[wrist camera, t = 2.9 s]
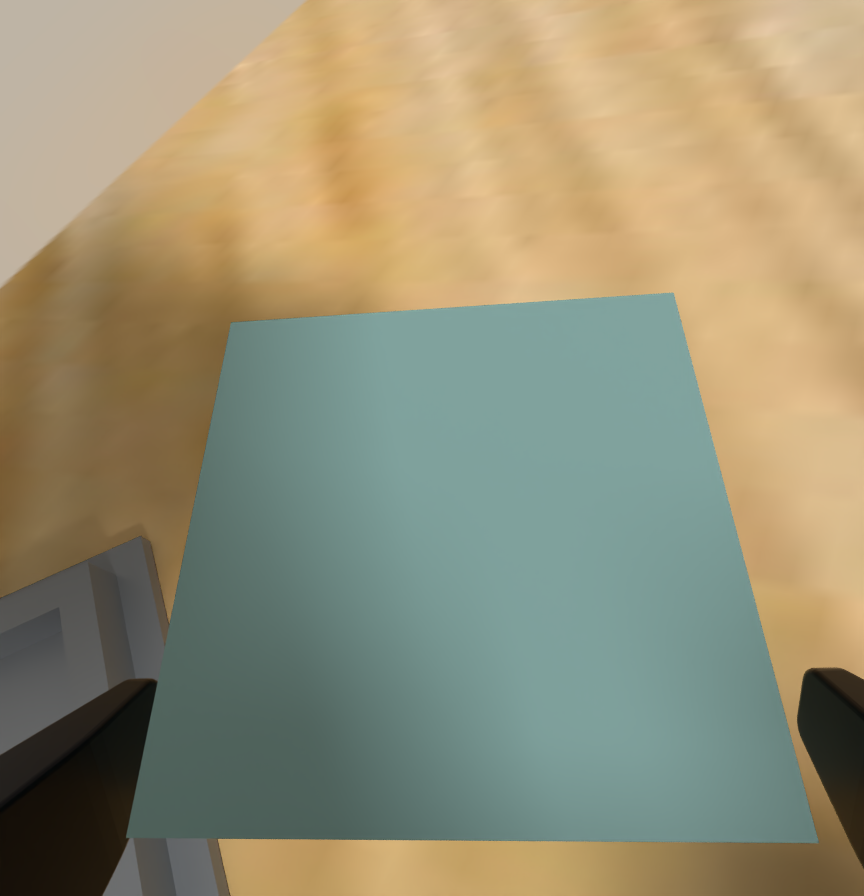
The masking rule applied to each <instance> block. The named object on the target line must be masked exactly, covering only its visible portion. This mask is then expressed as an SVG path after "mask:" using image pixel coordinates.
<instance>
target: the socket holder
mask: <svg viewBox="0 0 864 896" xmlns="http://www.w3.org/2000/svg"><path fill="white" fill-rule="evenodd" d="M168 629H169V624H168V619H167V615H166V610H165V606H164V602H163V597H162V593H161V588H160V584H159V579H158V575H157V571H156V566H155V562H154V557H153V553H152V548H151V544H150V541H148V540H146V539H145V538H143V537H142V536H139V537H137V538H135V539H132V540H130V541H128V542H126V543H123V544H121V545H119V546H117V547H114V548H112V549H110V550H108V551H105V552H103V553H101V554H99V555H96V556H94V557H92V558H90V559H88V560H85V561H83V562H81V563H79V564H76V565H74V566H72V567H70V568H67V569H65V570H63V571H61V572H58V573H56V574H54V575H52V576H49V577H47V578H45V579H43V580H40V581H38V582H36V583H34V584H31V585H29V586H27V587H25V588H22V589H20V590H18V591H16V592H13V593H11V594H9V595H7V596H4V597H2V598H0V755H1V754H2V753H4V752H6V751H7V750H9V749H11V748H12V747H14V746H16V745H17V744H19V743H21V742H22V741H24V740H26V739H27V738H29V737H31V736H32V735H34V734H36V733H37V732H39V731H41V730H42V729H44V728H46V727H47V726H49V725H51V724H52V723H54V722H56V721H58V720H59V719H61V718H63V717H64V716H66V715H68V714H69V713H71V712H73V711H74V710H76V709H78V708H79V707H81V706H83V705H84V704H86V703H88V702H89V701H91V700H93V699H94V698H96V697H98V696H99V695H101V694H103V693H104V692H106V691H108V690H109V689H111V688H113V687H114V686H116V685H118V684H119V683H121V682H123V681H125V680H127V679H136V678H152V679H155V680H157V681H158V678H159V673H160V668H161V663H162V659H163V654H164V649H165V644H166V639H167V634H168ZM103 896H230V894H229V890H228V886H227V881H226V877H225V872H224V868H223V863H222V859H221V855H220V850H219V846H218V841H217V839H200V838H130V839H129V841H128V844H127V846H126V848H125V851H124V853H123V855H122V857H121V859H120V861H119V863H118V865H117V868H116V870H115V872H114V874H113V876H112V878H111V880H110V882H109V884H108V886H107V888H106V890H105V892H104V894H103Z"/></svg>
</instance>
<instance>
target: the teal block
mask: <svg viewBox="0 0 864 896" xmlns="http://www.w3.org/2000/svg"><path fill="white" fill-rule="evenodd" d="M126 838H200V839H334V840H467V841H601V842H734V843H819V841H818V837H817V834H816V830H815V826H814V822H813V818H812V815H811V811H810V807H809V803H808V800H807V796H806V792H805V788H804V784H803V781H802V777H801V773H800V769H799V766H798V762H797V758H796V754H795V750H794V747H793V743H792V739H791V735H790V731H789V728H788V724H787V720H786V716H785V713H784V709H783V705H782V701H781V697H780V694H779V690H778V686H777V682H776V679H775V675H774V671H773V667H772V663H771V660H770V656H769V652H768V648H767V645H766V641H765V637H764V633H763V629H762V626H761V622H760V618H759V614H758V611H757V607H756V603H755V599H754V595H753V592H752V588H751V584H750V580H749V576H748V573H747V569H746V565H745V561H744V558H743V554H742V550H741V546H740V542H739V539H738V535H737V531H736V527H735V524H734V520H733V516H732V512H731V508H730V505H729V501H728V497H727V493H726V490H725V486H724V482H723V478H722V474H721V471H720V467H719V463H718V459H717V456H716V452H715V448H714V444H713V440H712V437H711V433H710V429H709V425H708V421H707V418H706V414H705V410H704V406H703V403H702V399H701V395H700V391H699V387H698V384H697V380H696V376H695V372H694V369H693V365H692V361H691V357H690V353H689V350H688V346H687V342H686V338H685V335H684V331H683V327H682V323H681V319H680V316H679V312H678V308H677V304H676V301H675V297H674V293H662V294H647V295H632V296H617V297H602V298H587V299H572V300H557V301H543V302H528V303H513V304H498V305H483V306H468V307H453V308H438V309H423V310H408V311H394V312H379V313H364V314H349V315H334V316H319V317H304V318H289V319H274V320H260V321H245V322H231V325H230V330H229V335H228V340H227V345H226V350H225V355H224V360H223V365H222V370H221V374H220V379H219V384H218V389H217V394H216V399H215V404H214V409H213V414H212V419H211V423H210V428H209V433H208V438H207V443H206V448H205V453H204V458H203V463H202V468H201V472H200V477H199V482H198V487H197V492H196V497H195V502H194V507H193V512H192V517H191V521H190V526H189V531H188V536H187V541H186V546H185V551H184V556H183V561H182V566H181V570H180V575H179V580H178V585H177V590H176V595H175V600H174V605H173V610H172V615H171V619H170V624H169V629H168V634H167V639H166V644H165V649H164V654H163V659H162V663H161V668H160V673H159V678H158V683H157V688H156V693H155V698H154V703H153V708H152V712H151V717H150V722H149V727H148V732H147V737H146V742H145V747H144V752H143V757H142V761H141V766H140V771H139V776H138V781H137V786H136V791H135V796H134V801H133V806H132V810H131V815H130V820H129V825H128V830H127V835H126Z"/></svg>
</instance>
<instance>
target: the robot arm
mask: <svg viewBox="0 0 864 896" xmlns="http://www.w3.org/2000/svg"><path fill="white" fill-rule="evenodd" d="M157 683H158V681H157V680H155V679H152V678H136V679H127V680H125V681H123V682H121V683H119V684H118V685H116V686H114V687H113V688H111V689H109V690H108V691H106V692H104V693H103V694H101V695H99V696H98V697H96V698H94V699H93V700H91V701H89V702H88V703H86V704H84V705H83V706H81V707H79V708H78V709H76V710H74V711H73V712H71V713H69V714H68V715H66V716H64V717H63V718H61V719H59V720H58V721H56V722H54V723H52V724H51V725H49V726H47V727H46V728H44V729H42V730H41V731H39V732H37V733H36V734H34V735H32V736H31V737H29V738H27V739H26V740H24V741H22V742H21V743H19V744H17V745H16V746H14V747H12V748H11V749H9V750H7V751H6V752H4V753H2V754H1V755H0V896H103V894H104V892H105V890H106V888H107V886H108V884H109V882H110V880H111V878H112V876H113V874H114V872H115V870H116V868H117V865H118V863H119V861H120V859H121V857H122V855H123V853H124V851H125V848H126V846H127V844H128V841H129V839H130V838H126V835H127V830H128V825H129V820H130V815H131V810H132V806H133V801H134V796H135V791H136V786H137V781H138V776H139V771H140V766H141V761H142V757H143V752H144V747H145V742H146V737H147V732H148V727H149V722H150V717H151V712H152V708H153V703H154V698H155V693H156V688H157ZM797 724H798V730H799V733H800V736H801V739H802V741H803V743H804V745H805V747H806V750H807V752H808V754H809V756H810V758H811V760H812V762H813V764H814V767H815V769H816V771H817V773H818V775H819V777H820V779H821V782H822V784H823V786H824V788H825V790H826V792H827V794H828V797H829V799H830V801H831V803H832V805H833V807H834V809H835V812H836V814H837V816H838V818H839V820H840V822H841V824H842V826H843V829H844V831H845V833H846V835H847V837H848V839H849V841H850V843H851V845H852V847H853V849H854V851H855V853H856V855H857V857H858V859H859V861H860V863H861V865H862V866H863V868H864V680H863V679H862V678H860V677H858V676H856V675H854V674H852V673H850V672H848V671H846V670H844V669H841V668H810V669H808V670H807V671H806V672H805V674H804V676H803V681H802V688H801V694H800V701H799V708H798V715H797Z"/></svg>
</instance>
